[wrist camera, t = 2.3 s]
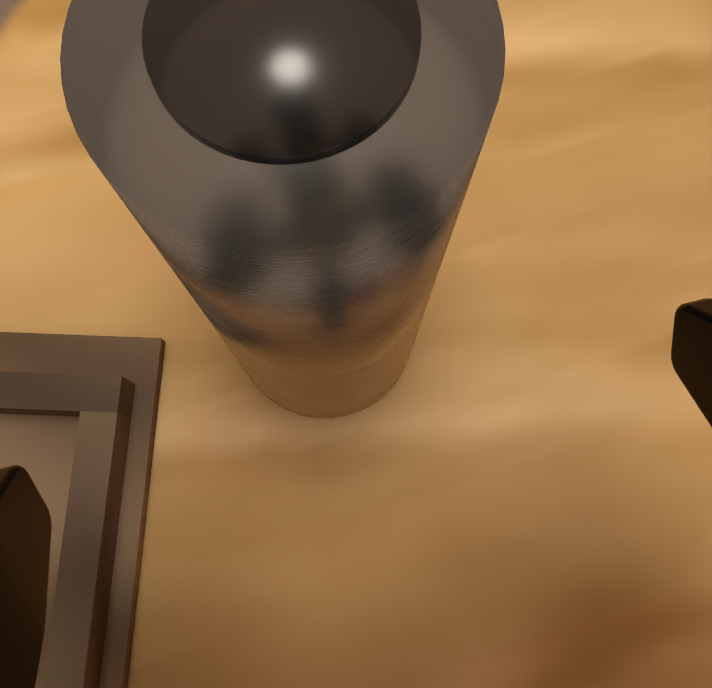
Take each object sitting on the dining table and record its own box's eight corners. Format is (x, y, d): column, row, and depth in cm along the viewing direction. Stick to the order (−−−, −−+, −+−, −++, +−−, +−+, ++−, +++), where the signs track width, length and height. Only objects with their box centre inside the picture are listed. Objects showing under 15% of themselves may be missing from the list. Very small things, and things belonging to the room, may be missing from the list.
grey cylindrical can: (410, 421, 20) (513, 250, 7) (232, 414, 20) (18, 231, 7) (413, 254, 21) (505, -143, 8) (246, 248, 21) (86, -159, 8)
